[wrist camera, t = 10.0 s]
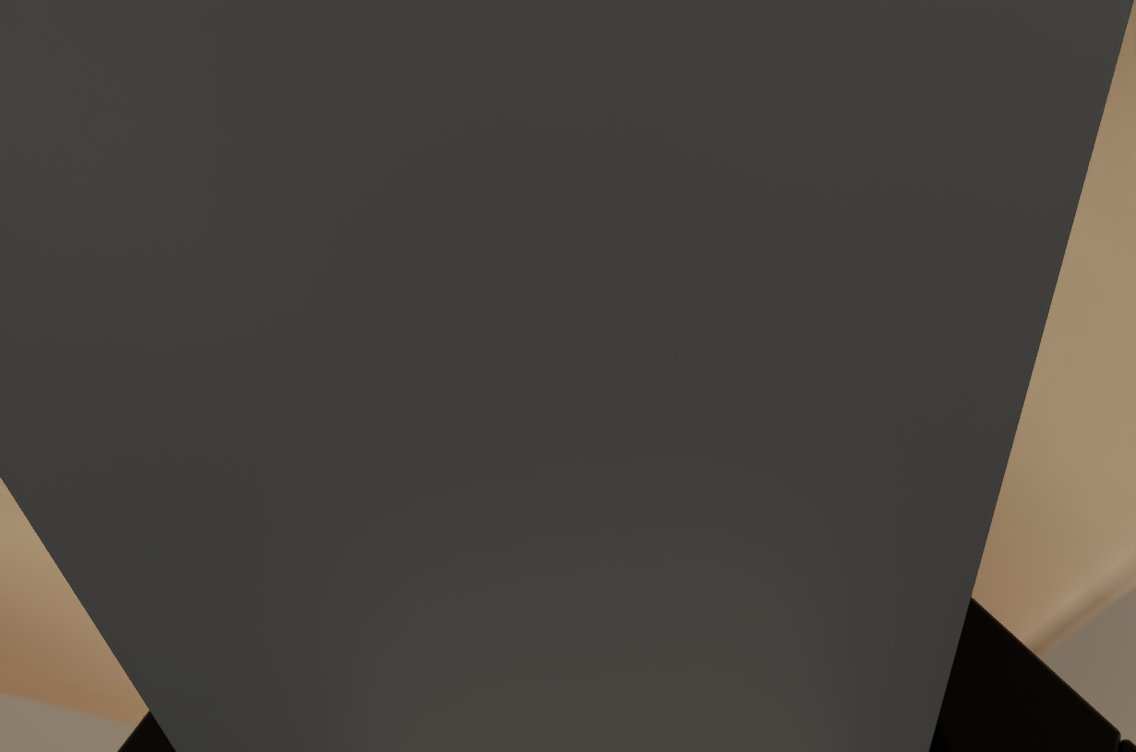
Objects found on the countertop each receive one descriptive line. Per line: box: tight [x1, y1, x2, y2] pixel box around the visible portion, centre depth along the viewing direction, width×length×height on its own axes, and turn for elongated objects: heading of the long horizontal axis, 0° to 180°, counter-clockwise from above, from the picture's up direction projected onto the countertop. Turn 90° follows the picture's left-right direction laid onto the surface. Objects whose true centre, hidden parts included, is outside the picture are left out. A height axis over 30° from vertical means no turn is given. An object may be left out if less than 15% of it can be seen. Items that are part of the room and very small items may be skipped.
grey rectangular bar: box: [0, 0, 1134, 752], centre depth 8 cm, size 12×4×4 cm, turn 5°
